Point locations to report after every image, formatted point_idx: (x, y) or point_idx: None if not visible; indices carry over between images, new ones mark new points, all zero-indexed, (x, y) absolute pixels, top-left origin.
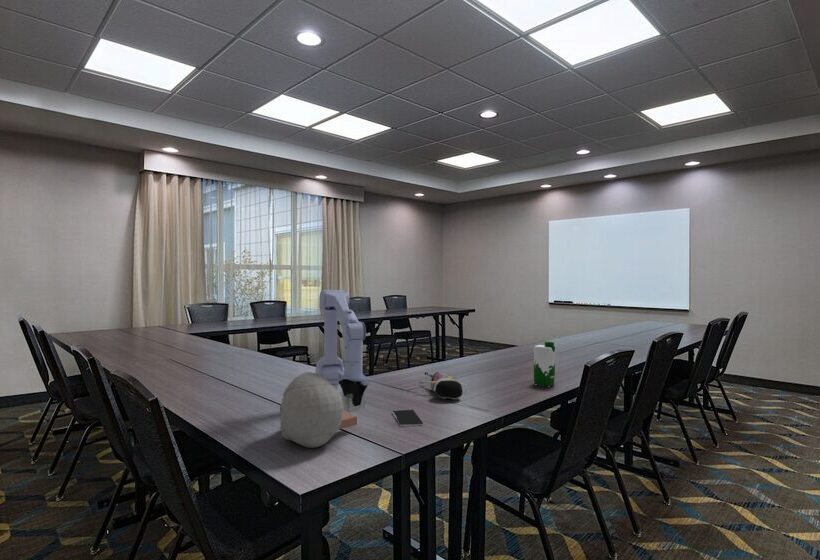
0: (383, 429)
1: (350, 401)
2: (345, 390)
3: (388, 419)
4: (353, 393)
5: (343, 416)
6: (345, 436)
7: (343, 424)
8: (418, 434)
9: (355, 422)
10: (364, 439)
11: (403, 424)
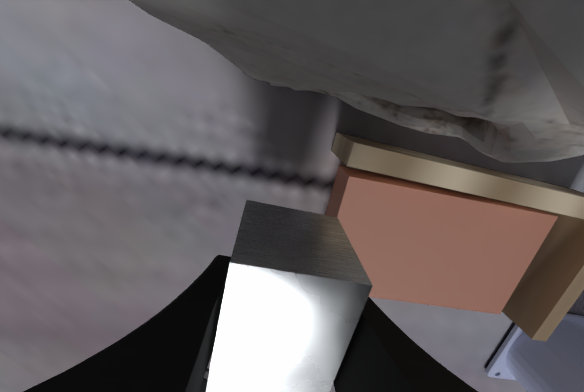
0: (177, 285)
1: (234, 249)
2: (380, 362)
3: None
4: (178, 327)
5: (373, 254)
6: (243, 124)
7: (332, 208)
8: (28, 320)
9: None
10: (142, 148)
11: None
